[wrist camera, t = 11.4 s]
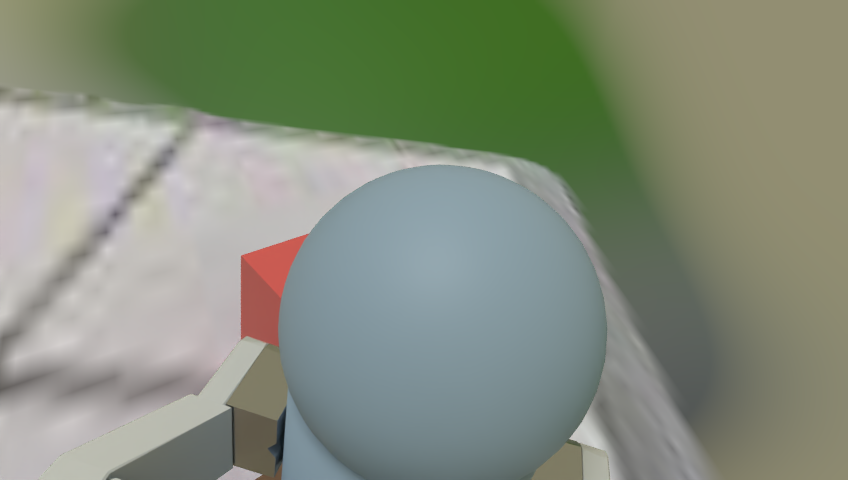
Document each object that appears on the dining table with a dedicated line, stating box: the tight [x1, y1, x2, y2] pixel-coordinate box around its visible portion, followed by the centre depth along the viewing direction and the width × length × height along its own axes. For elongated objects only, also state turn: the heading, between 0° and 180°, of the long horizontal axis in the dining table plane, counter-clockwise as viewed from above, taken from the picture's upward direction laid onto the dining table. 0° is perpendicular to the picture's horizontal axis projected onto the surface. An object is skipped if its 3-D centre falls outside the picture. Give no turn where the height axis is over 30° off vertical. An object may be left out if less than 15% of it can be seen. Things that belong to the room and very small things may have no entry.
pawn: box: [278, 165, 607, 480], centre depth 10 cm, size 6×6×13 cm
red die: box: [241, 234, 309, 347], centre depth 27 cm, size 6×6×6 cm
